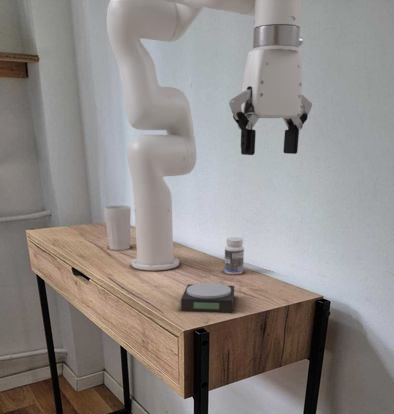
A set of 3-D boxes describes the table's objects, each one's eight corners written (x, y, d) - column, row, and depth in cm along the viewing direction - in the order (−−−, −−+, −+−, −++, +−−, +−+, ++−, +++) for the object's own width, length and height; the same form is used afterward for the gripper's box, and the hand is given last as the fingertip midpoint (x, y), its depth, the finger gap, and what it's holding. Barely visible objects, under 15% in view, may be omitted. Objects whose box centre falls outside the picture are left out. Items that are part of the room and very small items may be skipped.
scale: (187, 295, 105) (187, 281, 103) (234, 296, 104) (234, 282, 102) (181, 311, 95) (180, 296, 94) (231, 312, 94) (232, 297, 93)
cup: (101, 247, 148) (98, 207, 143) (122, 243, 153) (120, 204, 148) (117, 251, 143) (114, 210, 138) (138, 247, 148) (136, 207, 143)
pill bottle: (221, 270, 123) (222, 237, 120) (239, 269, 124) (240, 236, 121) (227, 275, 119) (228, 241, 116) (245, 273, 120) (247, 240, 117)
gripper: (300, 49, 87) (292, 152, 94) (219, 41, 79) (217, 154, 86) (330, 43, 81) (319, 153, 88) (247, 34, 73) (242, 156, 80)
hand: (269, 154), depth 87 cm, fingers open, 9 cm apart
